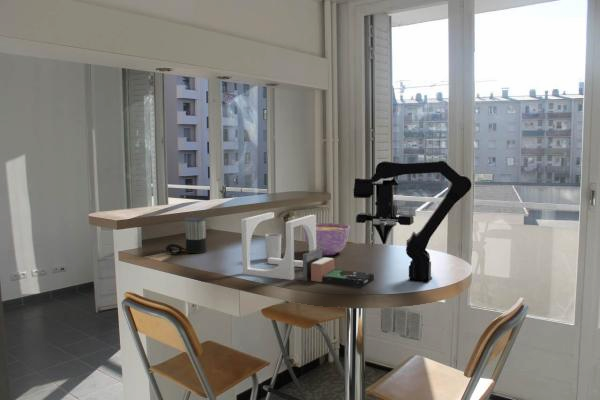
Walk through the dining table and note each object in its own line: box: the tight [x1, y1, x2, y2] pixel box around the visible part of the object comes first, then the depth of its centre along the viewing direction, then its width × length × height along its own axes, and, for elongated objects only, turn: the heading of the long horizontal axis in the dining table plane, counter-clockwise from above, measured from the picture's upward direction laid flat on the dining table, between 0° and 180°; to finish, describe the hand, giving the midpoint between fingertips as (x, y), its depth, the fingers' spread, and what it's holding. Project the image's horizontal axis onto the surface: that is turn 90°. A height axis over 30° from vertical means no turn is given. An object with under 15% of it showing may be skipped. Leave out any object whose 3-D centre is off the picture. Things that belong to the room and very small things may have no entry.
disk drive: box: [321, 268, 375, 288], centre depth 172 cm, size 10×3×15 cm
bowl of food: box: [302, 222, 351, 256], centre depth 216 cm, size 20×20×12 cm
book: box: [310, 256, 335, 283], centre depth 176 cm, size 4×10×6 cm, turn 151°
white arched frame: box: [240, 211, 317, 281], centre depth 187 cm, size 20×20×20 cm
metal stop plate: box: [297, 248, 323, 282], centre depth 178 cm, size 4×12×9 cm, turn 152°
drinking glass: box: [264, 233, 282, 261], centre depth 206 cm, size 7×7×10 cm
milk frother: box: [165, 216, 207, 255], centre depth 221 cm, size 14×16×15 cm
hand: (384, 243), depth 174 cm, fingers closed
